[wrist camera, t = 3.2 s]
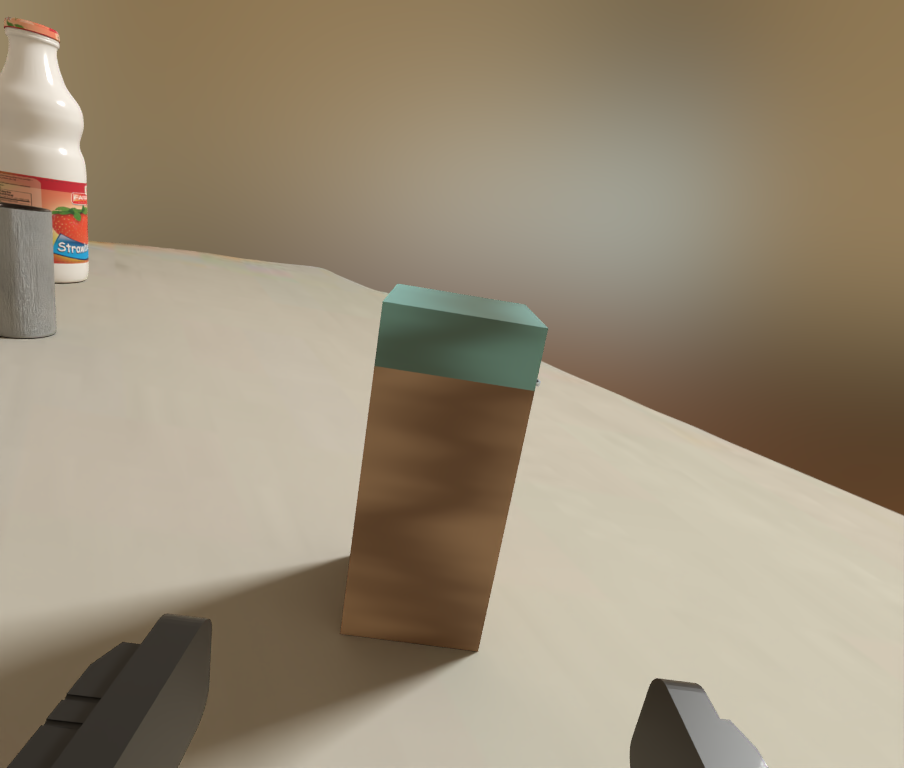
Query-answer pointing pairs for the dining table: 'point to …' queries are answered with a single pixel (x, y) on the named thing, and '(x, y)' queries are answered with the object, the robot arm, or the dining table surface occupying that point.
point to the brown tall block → (439, 464)
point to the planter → (26, 272)
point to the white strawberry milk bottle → (43, 143)
